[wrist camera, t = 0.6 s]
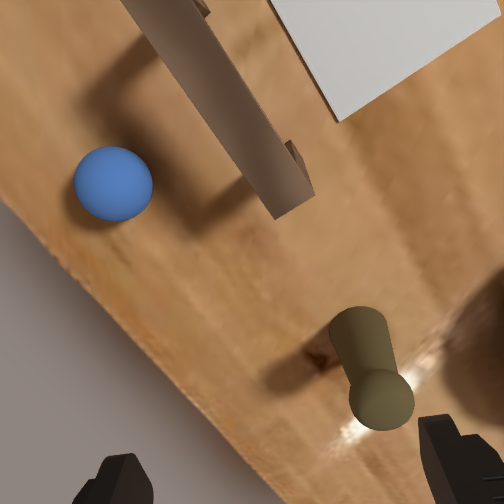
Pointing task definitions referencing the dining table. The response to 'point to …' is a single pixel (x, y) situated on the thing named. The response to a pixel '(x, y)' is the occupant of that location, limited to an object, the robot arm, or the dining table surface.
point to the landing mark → (375, 41)
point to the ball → (113, 184)
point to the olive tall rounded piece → (371, 369)
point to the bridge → (224, 100)
